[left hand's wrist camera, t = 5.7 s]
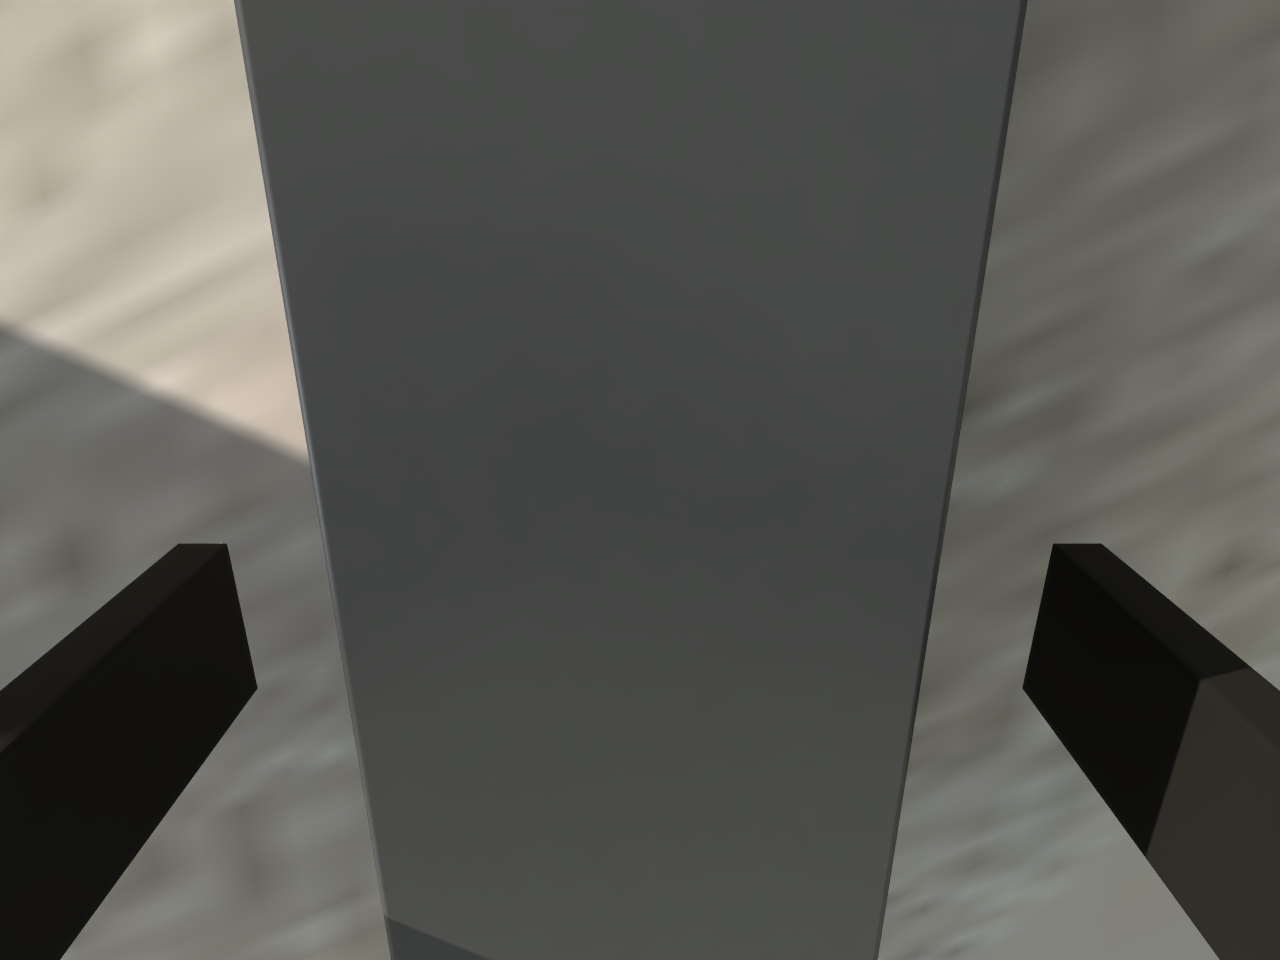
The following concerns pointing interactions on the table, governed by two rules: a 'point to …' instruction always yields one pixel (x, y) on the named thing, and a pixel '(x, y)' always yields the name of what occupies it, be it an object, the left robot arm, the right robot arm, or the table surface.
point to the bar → (632, 441)
